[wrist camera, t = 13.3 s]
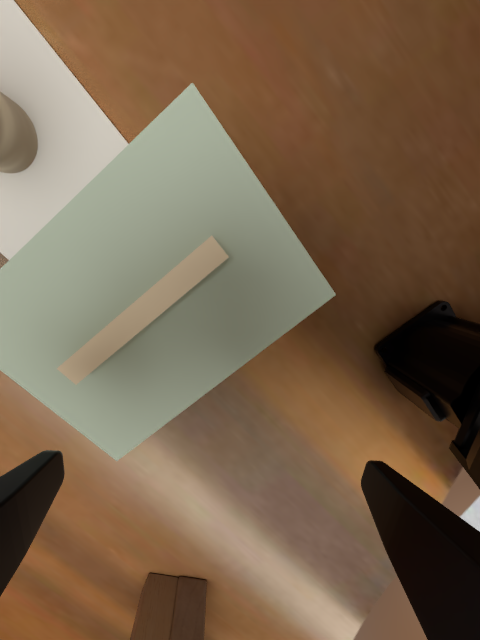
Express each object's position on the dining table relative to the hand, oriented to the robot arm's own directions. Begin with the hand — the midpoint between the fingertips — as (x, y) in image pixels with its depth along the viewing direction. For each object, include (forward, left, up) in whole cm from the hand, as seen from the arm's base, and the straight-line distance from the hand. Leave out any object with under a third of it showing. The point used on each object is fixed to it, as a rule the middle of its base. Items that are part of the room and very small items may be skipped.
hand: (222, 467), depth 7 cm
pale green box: (+5, -8, -12) cm, 15 cm away
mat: (+2, -18, -12) cm, 22 cm away
